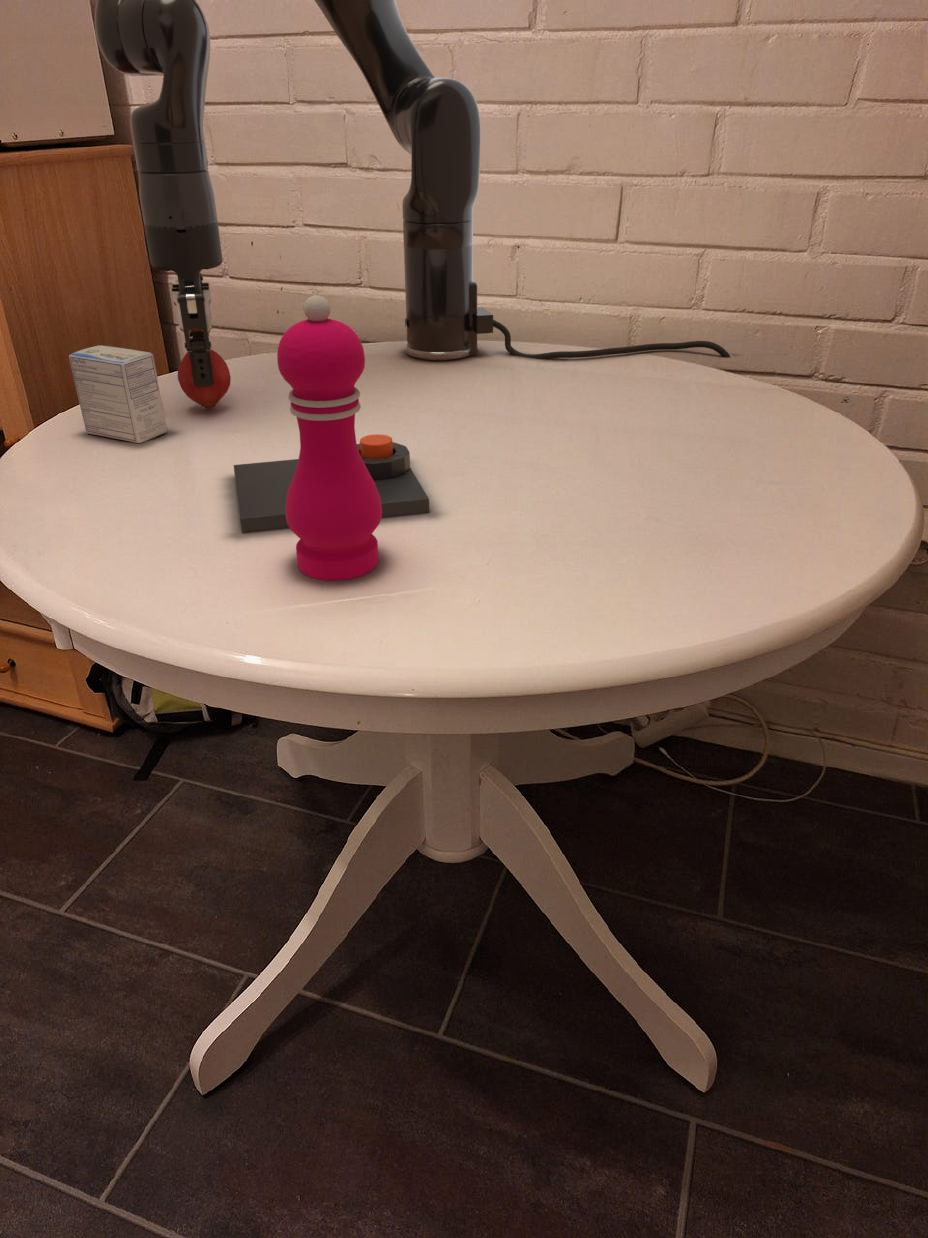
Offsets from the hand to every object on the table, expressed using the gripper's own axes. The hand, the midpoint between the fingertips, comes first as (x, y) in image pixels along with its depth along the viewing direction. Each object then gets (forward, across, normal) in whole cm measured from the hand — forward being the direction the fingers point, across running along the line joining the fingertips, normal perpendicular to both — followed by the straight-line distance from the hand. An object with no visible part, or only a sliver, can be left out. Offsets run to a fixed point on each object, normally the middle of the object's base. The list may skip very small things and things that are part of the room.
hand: (204, 377), depth 104 cm
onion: (+4, 0, 0) cm, 4 cm away
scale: (+4, +30, +10) cm, 32 cm away
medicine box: (+4, +7, -9) cm, 12 cm away
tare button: (+1, +28, +15) cm, 32 cm away
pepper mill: (+4, +44, +9) cm, 45 cm away
